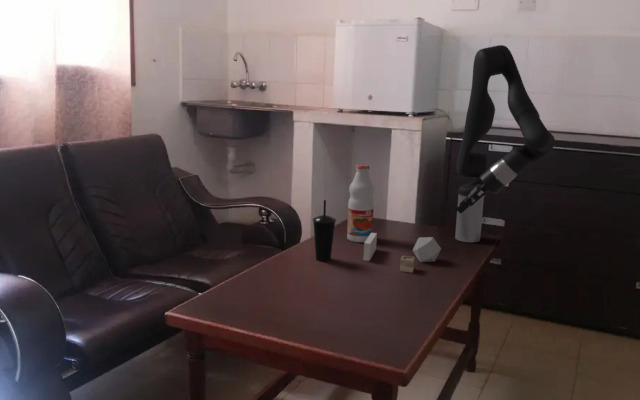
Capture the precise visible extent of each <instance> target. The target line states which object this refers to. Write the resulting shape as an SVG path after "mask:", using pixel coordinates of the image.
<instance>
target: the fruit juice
mask: <svg viewBox="0 0 640 400" xmlns="http://www.w3.org/2000/svg"><path fill="white" fill-rule="evenodd" d="M369 170H370V165H369V164H365V163H359V164H358V163H357V164H356V165H355V171H356V172H355V175H354V177H353V180H352V182H351V183H350V185H349V188H348V190H349V192H348V193H349V199H348V203H347V204H348V205H347V226H346V227H347V230H346V237H347V240H348V241H350V242H354V243H365V241H366V240H367V238H368V237H369V235H370V234H371V233H374V232H373V227H374V211H375V210H374V209H375V208H374V207H375V204H374V198H373V197H374V193H375V186H374V184H373V182H372V180H371V177H370V173H369Z"/></svg>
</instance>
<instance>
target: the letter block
mask: <svg viewBox="0 0 640 400" xmlns="http://www.w3.org/2000/svg"><path fill="white" fill-rule="evenodd" d="M415 257H416V256H410V255H409V256H407V255H401V257H400V263H399V272H404V273H412V274H413V273H414V270H415V269H414V268H415V260H416V259H415Z"/></svg>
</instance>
